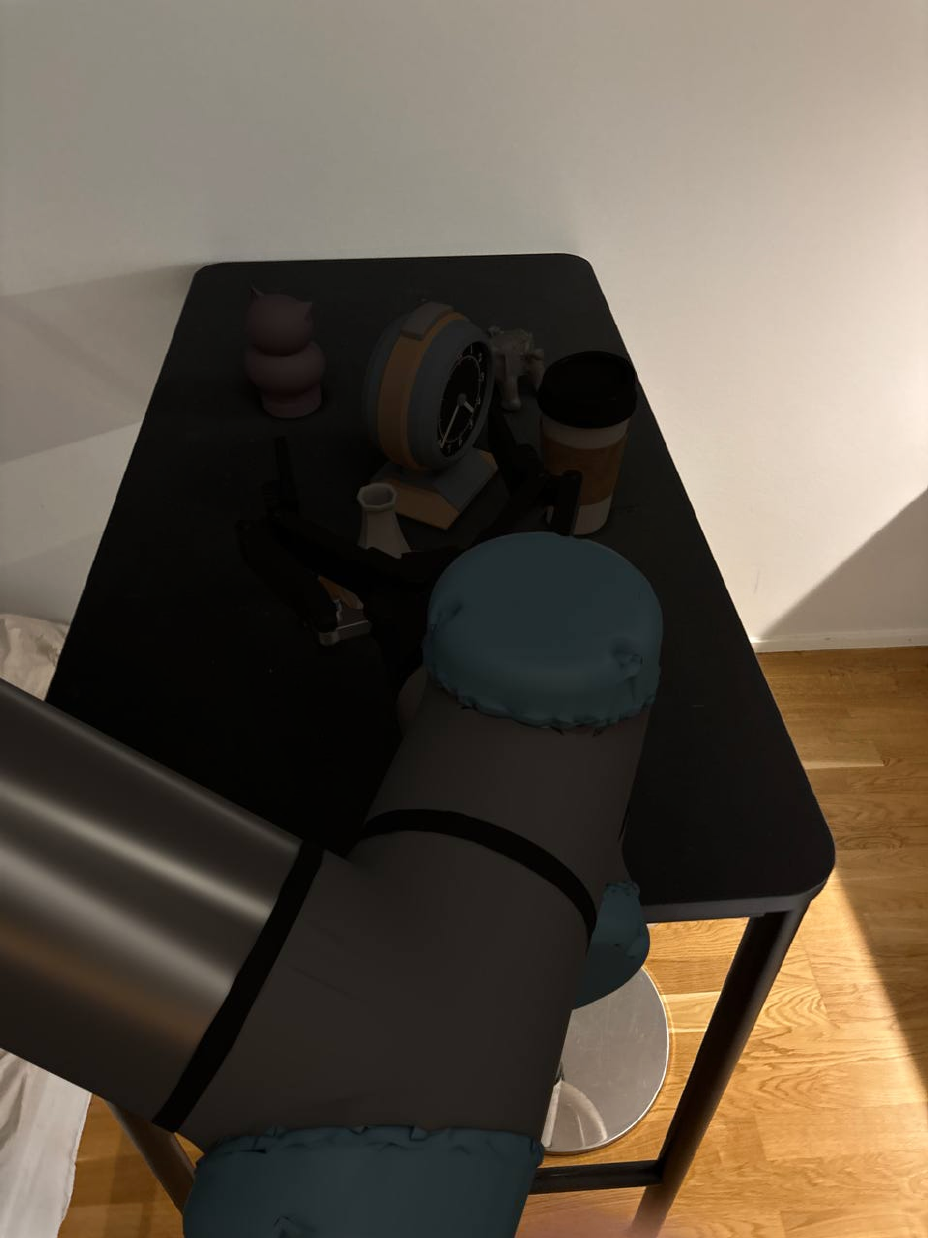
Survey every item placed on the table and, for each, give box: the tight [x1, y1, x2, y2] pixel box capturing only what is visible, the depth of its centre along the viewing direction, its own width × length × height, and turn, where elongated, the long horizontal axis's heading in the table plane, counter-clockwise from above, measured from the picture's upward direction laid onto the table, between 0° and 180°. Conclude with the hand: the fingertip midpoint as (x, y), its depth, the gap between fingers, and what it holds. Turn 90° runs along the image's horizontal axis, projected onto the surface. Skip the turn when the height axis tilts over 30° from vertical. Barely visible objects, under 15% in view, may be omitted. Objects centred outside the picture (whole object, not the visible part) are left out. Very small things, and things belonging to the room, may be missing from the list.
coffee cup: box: [536, 350, 638, 536], centre depth 86 cm, size 8×8×15 cm
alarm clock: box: [355, 301, 499, 531], centre depth 89 cm, size 14×10×18 cm
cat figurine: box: [243, 285, 326, 419], centre depth 101 cm, size 8×8×12 cm
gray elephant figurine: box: [485, 324, 546, 412], centre depth 102 cm, size 9×12×8 cm
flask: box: [343, 483, 411, 609], centre depth 81 cm, size 7×7×10 cm
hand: (389, 439), depth 62 cm, fingers open, 13 cm apart
